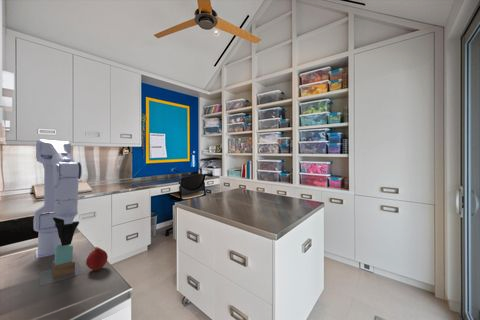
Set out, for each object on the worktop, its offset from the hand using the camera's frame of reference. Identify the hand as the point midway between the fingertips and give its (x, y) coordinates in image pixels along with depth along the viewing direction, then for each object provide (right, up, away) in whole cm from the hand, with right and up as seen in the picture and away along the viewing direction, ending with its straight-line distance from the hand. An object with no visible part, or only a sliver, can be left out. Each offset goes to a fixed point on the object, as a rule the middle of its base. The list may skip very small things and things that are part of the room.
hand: (64, 241), depth 66 cm
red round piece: (+9, -11, +2) cm, 14 cm away
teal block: (0, -7, 0) cm, 7 cm away
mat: (-1, -10, 0) cm, 10 cm away
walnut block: (0, -10, 0) cm, 10 cm away
